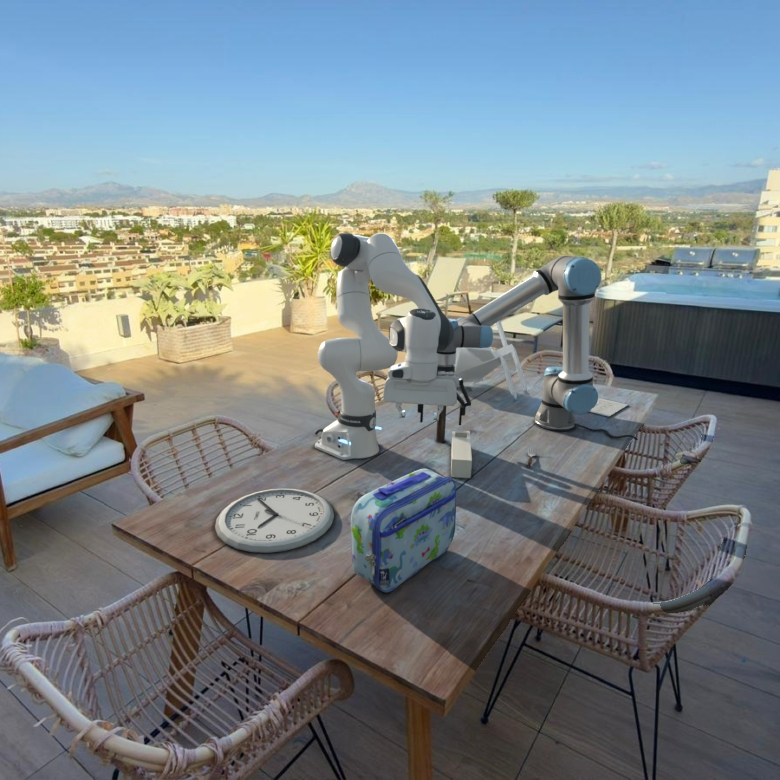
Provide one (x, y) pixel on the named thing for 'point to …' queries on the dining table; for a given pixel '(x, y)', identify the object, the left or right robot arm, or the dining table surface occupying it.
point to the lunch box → (402, 527)
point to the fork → (531, 456)
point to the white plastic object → (488, 363)
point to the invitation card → (607, 407)
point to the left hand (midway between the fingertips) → (419, 418)
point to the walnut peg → (441, 426)
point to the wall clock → (274, 520)
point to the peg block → (461, 454)
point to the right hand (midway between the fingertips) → (440, 422)
